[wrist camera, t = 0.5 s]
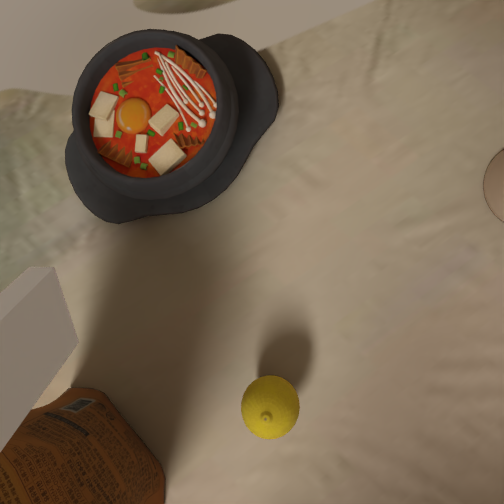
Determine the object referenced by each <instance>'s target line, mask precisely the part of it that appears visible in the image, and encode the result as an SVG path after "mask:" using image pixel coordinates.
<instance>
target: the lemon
mask: <svg viewBox="0 0 504 504" xmlns="http://www.w3.org/2000/svg"><path fill="white" fill-rule="evenodd" d="M299 409H300V406H299V398H298V395H297V393H296V391H295V389H294V388H293V386H292V385H291V384H290V383H289V382H288V381H287V380H285V379H283V378H281V377H278V376H275V375H267V376H263V377H260V378H258V379H256V380H255V381H253V382H252V383H251V384H250V385H249V386H248V388H247V389H246V391H245V393H244V395H243V399H242V403H241V412H242V417H243V420H244V422H245V424H246V426H247V427H248V429H249V430H250V431H251V432H252V433H254V434H255V435H256V436H258V437H261V438H264V439H276V438H279V437H281V436H284V435H285V434H286V433H288V432H289V431H290V430H291V429H292V427H293V426H294V425H295V423H296V421H297V418H298V416H299Z"/></svg>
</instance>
